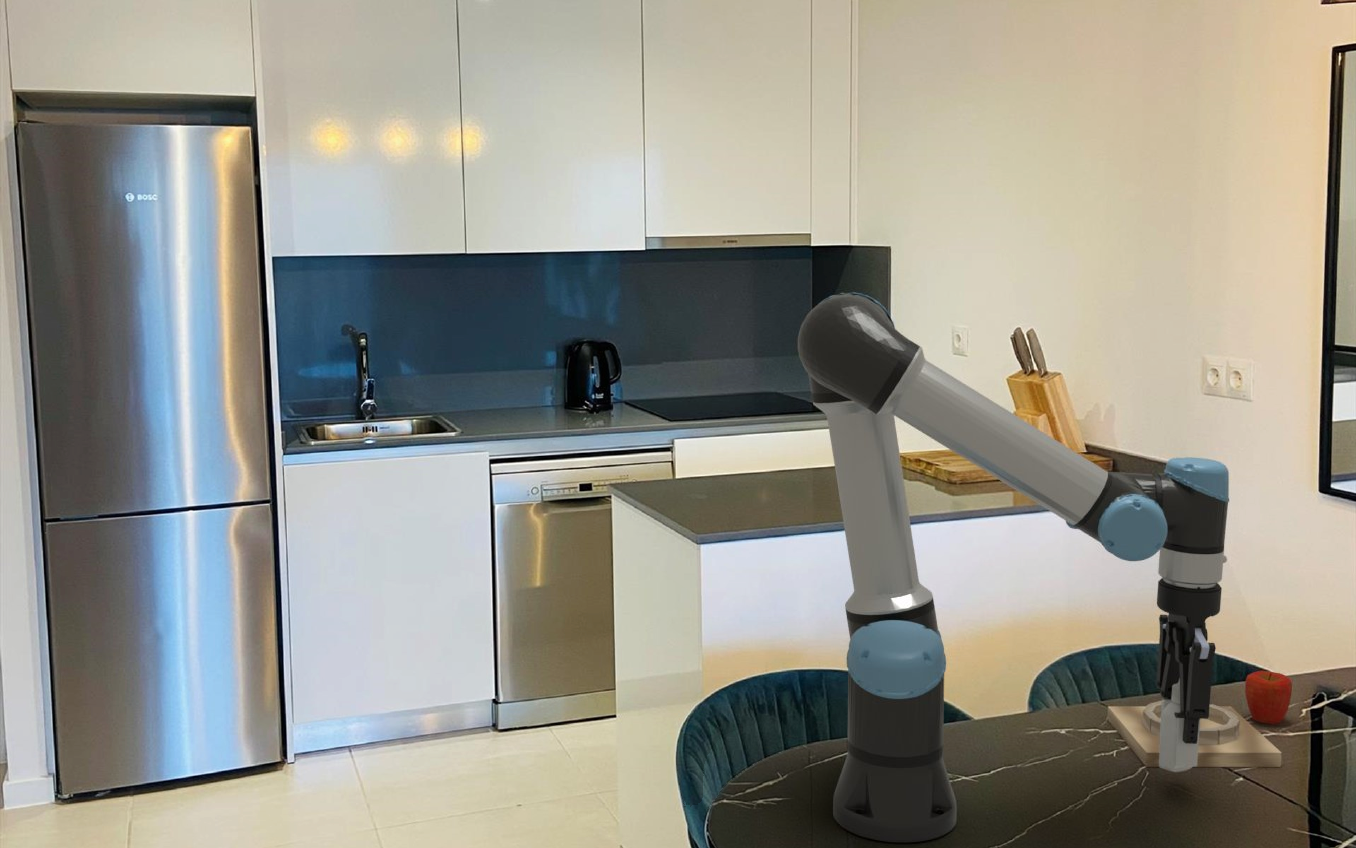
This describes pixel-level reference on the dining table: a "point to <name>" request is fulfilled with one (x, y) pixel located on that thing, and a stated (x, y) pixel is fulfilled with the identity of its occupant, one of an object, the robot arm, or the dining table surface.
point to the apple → (1268, 696)
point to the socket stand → (1219, 737)
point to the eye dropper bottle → (1170, 733)
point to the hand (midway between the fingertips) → (1177, 756)
